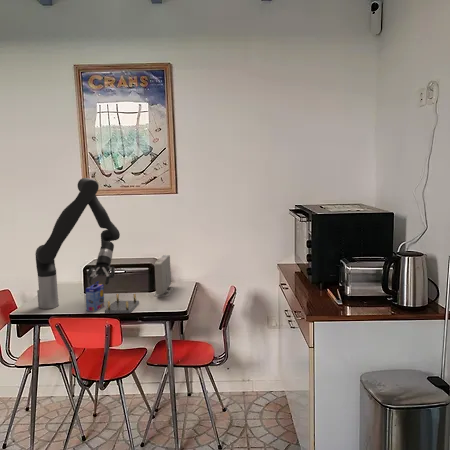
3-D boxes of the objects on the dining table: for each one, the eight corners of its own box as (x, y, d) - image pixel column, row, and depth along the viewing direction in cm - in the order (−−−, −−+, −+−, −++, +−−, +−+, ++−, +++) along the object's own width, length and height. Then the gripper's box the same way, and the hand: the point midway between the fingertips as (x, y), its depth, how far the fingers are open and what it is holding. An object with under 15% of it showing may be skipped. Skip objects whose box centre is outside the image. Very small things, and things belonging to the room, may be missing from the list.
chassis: (104, 313, 223) (104, 302, 222) (115, 303, 239) (115, 293, 239) (130, 313, 222) (129, 302, 221) (139, 303, 238) (138, 293, 238)
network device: (166, 298, 247) (165, 263, 245) (151, 298, 248) (149, 263, 245) (174, 286, 272) (173, 254, 270) (160, 286, 273) (159, 254, 271)
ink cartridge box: (95, 312, 225) (94, 284, 224) (86, 311, 227) (84, 283, 225) (105, 306, 235) (103, 279, 233) (95, 305, 236) (94, 279, 234)
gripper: (90, 255, 243) (83, 280, 233) (115, 254, 242) (109, 280, 232) (94, 262, 249) (87, 287, 239) (118, 262, 248) (113, 287, 238)
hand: (98, 284), depth 235 cm, fingers open, 8 cm apart
